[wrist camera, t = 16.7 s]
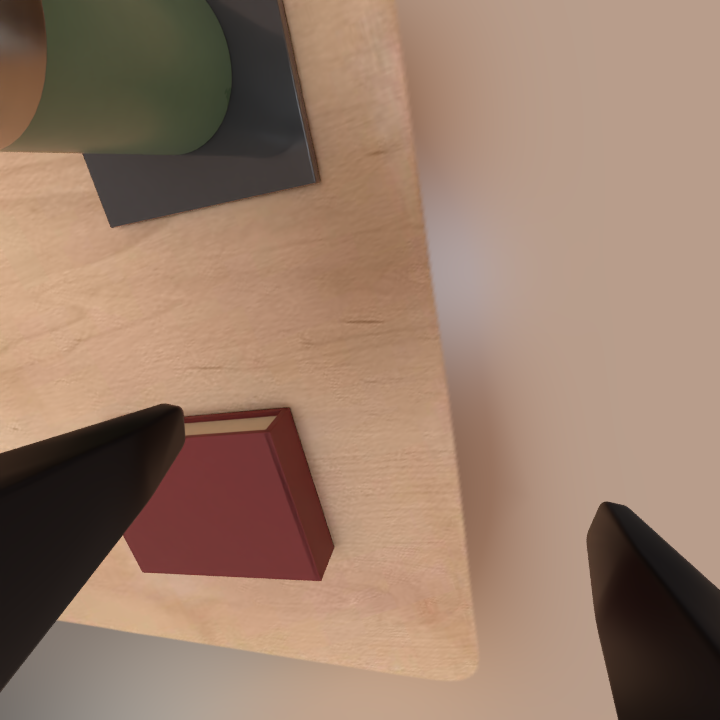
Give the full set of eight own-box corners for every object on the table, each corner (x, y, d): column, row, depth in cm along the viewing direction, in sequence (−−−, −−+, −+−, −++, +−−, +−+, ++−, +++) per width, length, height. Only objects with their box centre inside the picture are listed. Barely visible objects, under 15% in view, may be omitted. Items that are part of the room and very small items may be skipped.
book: (289, 407, 24) (269, 431, 22) (334, 547, 28) (321, 581, 25) (107, 423, 28) (75, 445, 26) (166, 543, 32) (142, 572, 30)
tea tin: (266, 65, 17) (35, -37, 8) (179, 190, 20) (-60, 213, 11) (139, -81, 16) (-268, -367, 7) (68, 72, 19) (-285, -2, 10)
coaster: (249, -159, 15) (240, -171, 15) (321, 182, 19) (316, 183, 18) (17, -44, 18) (3, -50, 18) (119, 226, 22) (110, 228, 22)
